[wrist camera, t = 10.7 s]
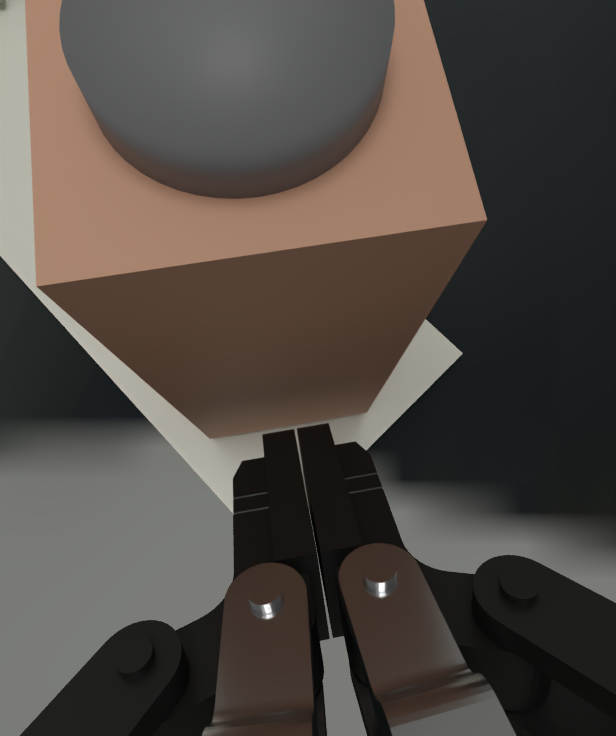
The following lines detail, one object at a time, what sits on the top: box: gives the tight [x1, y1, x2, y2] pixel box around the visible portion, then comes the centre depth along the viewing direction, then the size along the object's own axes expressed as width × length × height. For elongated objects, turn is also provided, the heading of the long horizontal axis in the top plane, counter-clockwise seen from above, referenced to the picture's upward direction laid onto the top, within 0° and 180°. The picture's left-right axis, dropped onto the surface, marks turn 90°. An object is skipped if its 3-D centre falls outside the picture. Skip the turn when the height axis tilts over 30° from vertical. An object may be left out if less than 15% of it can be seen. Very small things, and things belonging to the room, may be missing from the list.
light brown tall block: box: [25, 0, 487, 439], centre depth 12 cm, size 5×5×12 cm
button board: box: [0, 0, 463, 514], centre depth 20 cm, size 28×9×1 cm, turn 44°
